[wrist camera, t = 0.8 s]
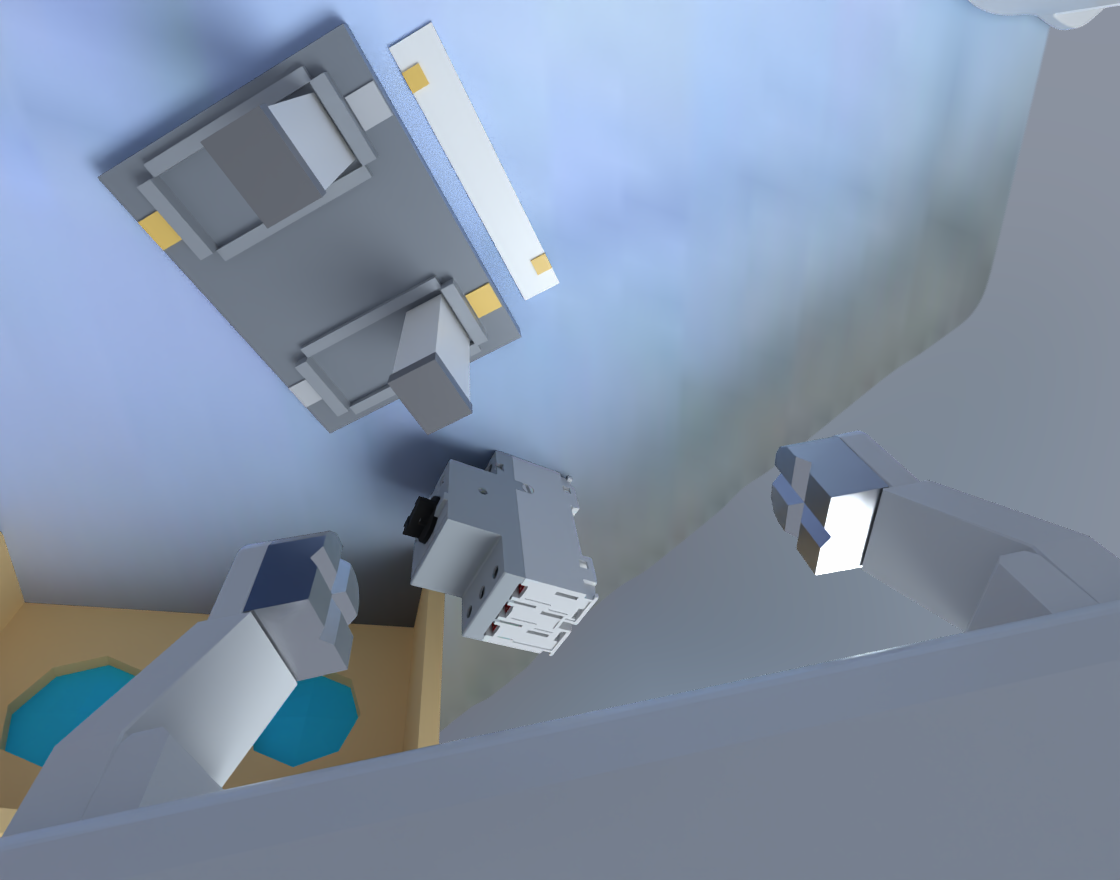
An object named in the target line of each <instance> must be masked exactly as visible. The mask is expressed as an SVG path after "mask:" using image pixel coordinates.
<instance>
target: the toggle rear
mask: <svg viewBox="0 0 1120 880" xmlns="http://www.w3.org/2000/svg"><path fill="white" fill-rule="evenodd" d="M388 385H389V386H390V387H391V389H392V390H393V391H394V392H395V394H396V395H397V396H398V398H399V399H400V400H401V401H402V403H403V404H404V405H405V407H406V408H407V409H408V410H409V412H410V413H411V414H412V416H413V417H414V418H415V420H416V421H417V422H418V423H419V425H420V426H421V427H422V429H423V430H424V431H425V432H426V434H427V435H429V434H431V433H433V432H435V431H437V430H439V429H441V428H443V427H445V426H447V425H449V424H451V423H453V422H455V421H457V420H459V419H461V418H463V417H466V416H468V415H470V414H472V404H471V402H470V342H469V336H468V335H467V333H466V332H465V330H464V328H463V327H462V325H461V324H460V322H459V320H458V319H457V317H456V316H455V314H454V313H453V311H452V309H451V308H450V306H449V305H448V303H447V302H446V300H445V298H444V297H443V295H442V294H440V295H438V296H436V297H434V298H432V299H430V300H428V301H426V302H424V303H423V304H421V305H419V306H417V307H415V308H413V309H411V310H409V311H407V312H406V316H405V320H404V325H403V329H402V333H401V338H400V342H399V347H398V351H397V355H396V360H395V364H394V369H393V373H392V374H391V375H389V379H388Z"/></svg>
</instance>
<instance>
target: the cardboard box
mask: <svg viewBox="0 0 1120 880" xmlns="http://www.w3.org/2000/svg"><path fill="white" fill-rule="evenodd" d="M444 601H445V593H441V592H437V591H433V590H429V589H425V588H422V592H421V597H420V602H419V606H418V611H417V616H416V620H415V625H414V628H413V627H398V626H382V625H367V624H351V623H350V624H349V626H348V627H349V629H350V631H351V633H352V635H353V642H352V648H351V653H350V659H349V664H348V670H344V671H340V672H335V673H331V674H327V675H322V676H318V677H314V678H309V679H305V680H301V681H296V682H297V686H296V687H295V688H294V690H293V691H292V692H291V694H290V695H289V696H288V698H287V699H286V701H285V702H284V703H283V705H282V706H281V707H280V709H279V710H278V711H277V713H276V714H275V716H274V717H273V718H272V720H271V721H270V722H269V724H268V725H267V726H266V728H265V729H264V731H263V732H262V733H261V735H260V736H259V737H258V739H257V740H256V741H255V743H254V744H253V746H252V747H251V748H250V750H249V751H248V752H247V754H246V755H245V757H244V758H243V759H242V761H241V762H240V763H239V765H238V766H237V767H236V769H235V770H234V772H233V773H232V774H231V776H230V777H229V778H228V780H227V781H226V782H225V784H224V785H223V787H222V788H223V789H224V790H225V789H230V788H234V787H239V786H244V785H249V784H253V783H258V782H263V781H267V780H272V779H277V778H281V777H286V776H291V775H296V774H300V773H305V772H310V771H314V770H319V769H324V768H329V767H333V766H338V765H343V764H347V763H352V762H357V761H361V760H366V759H371V758H376V757H380V756H385V755H390V754H394V753H399V752H404V751H409V750H413V749H418V748H423V747H427V746H432V745H437V744H439V726H440V701H441V676H442V651H443V626H444ZM209 615H210V614H196V613H181V612H165V611H150V610H134V609H119V608H103V607H88V606H72V605H57V604H41V603H26V602H25V601H24V598H23V595H22V592H21V589H20V586H19V583H18V580H17V577H16V574H15V571H14V568H13V565H12V561H11V558H10V555H9V552H8V549H7V546H6V543H5V540H4V537H3V534H2V533H1V532H0V837H2V835H3V834H4V832H5V830H6V828H7V827H8V825H9V823H10V822H11V820H12V818H13V817H14V815H15V813H16V811H17V810H18V808H19V806H20V805H21V803H22V801H23V799H24V798H25V796H26V794H27V793H28V791H29V789H30V788H31V786H32V784H33V782H34V781H35V779H36V777H37V776H38V774H39V772H40V771H41V769H42V767H43V765H44V764H45V762H46V760H47V759H48V757H49V755H50V753H51V752H52V750H53V748H54V747H55V746H56V745H57V744H58V743H59V742H60V741H61V740H63V739H64V738H65V737H66V736H67V735H68V734H69V733H71V732H72V731H73V730H74V729H75V728H76V727H77V726H79V725H80V724H81V723H82V722H83V721H84V720H86V719H87V718H88V717H89V716H90V715H91V714H92V713H94V712H95V711H96V710H97V709H98V708H99V707H101V706H102V705H103V704H104V703H105V702H106V701H107V700H109V699H110V698H111V697H112V696H113V695H114V694H116V693H117V692H118V691H119V690H120V689H121V688H122V687H124V686H125V685H126V684H127V683H128V682H129V681H131V680H132V679H133V678H134V677H135V676H136V675H137V674H139V673H140V672H141V671H142V670H143V669H144V668H145V667H147V666H148V665H149V664H150V663H151V662H152V661H154V660H155V659H156V658H157V657H158V656H159V655H160V654H162V653H163V652H164V651H165V650H166V649H167V648H169V647H170V646H171V645H172V644H173V643H174V642H175V641H177V640H178V639H179V638H180V637H181V636H182V635H184V634H185V633H186V632H187V631H188V630H189V629H190V628H192V627H193V626H194V625H195V624H196V623H197V622H200V621H205V620H207V619H208V617H209Z"/></svg>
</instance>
